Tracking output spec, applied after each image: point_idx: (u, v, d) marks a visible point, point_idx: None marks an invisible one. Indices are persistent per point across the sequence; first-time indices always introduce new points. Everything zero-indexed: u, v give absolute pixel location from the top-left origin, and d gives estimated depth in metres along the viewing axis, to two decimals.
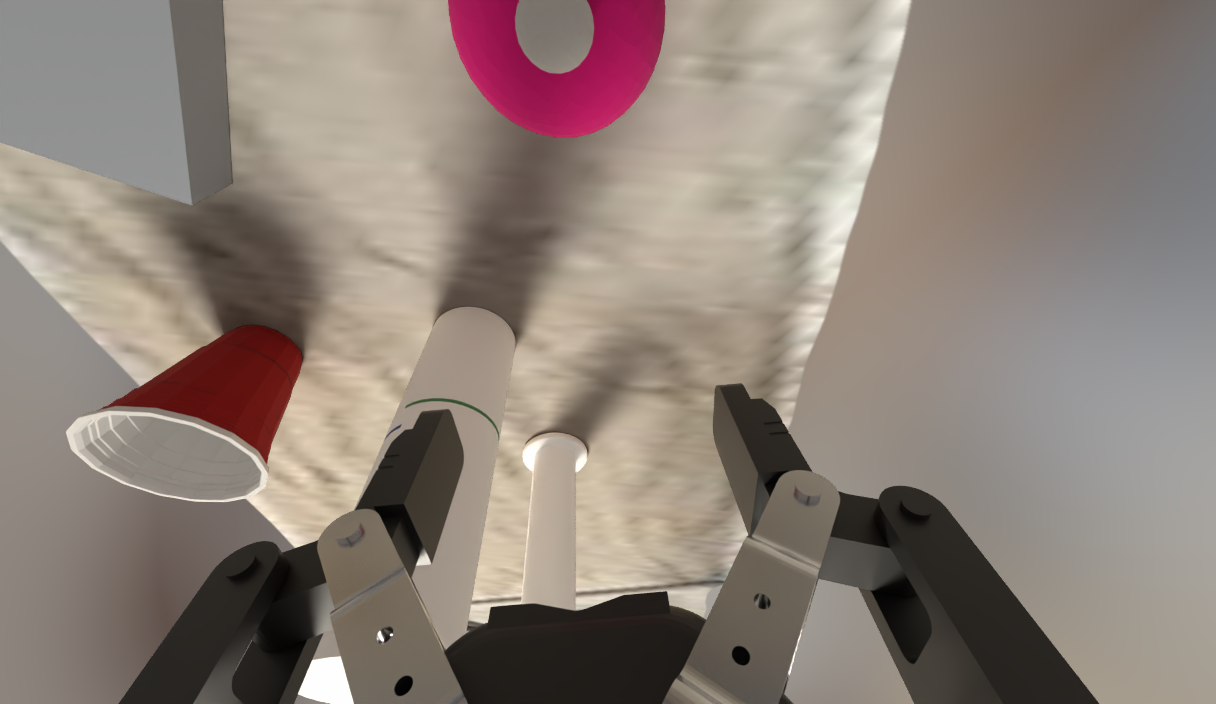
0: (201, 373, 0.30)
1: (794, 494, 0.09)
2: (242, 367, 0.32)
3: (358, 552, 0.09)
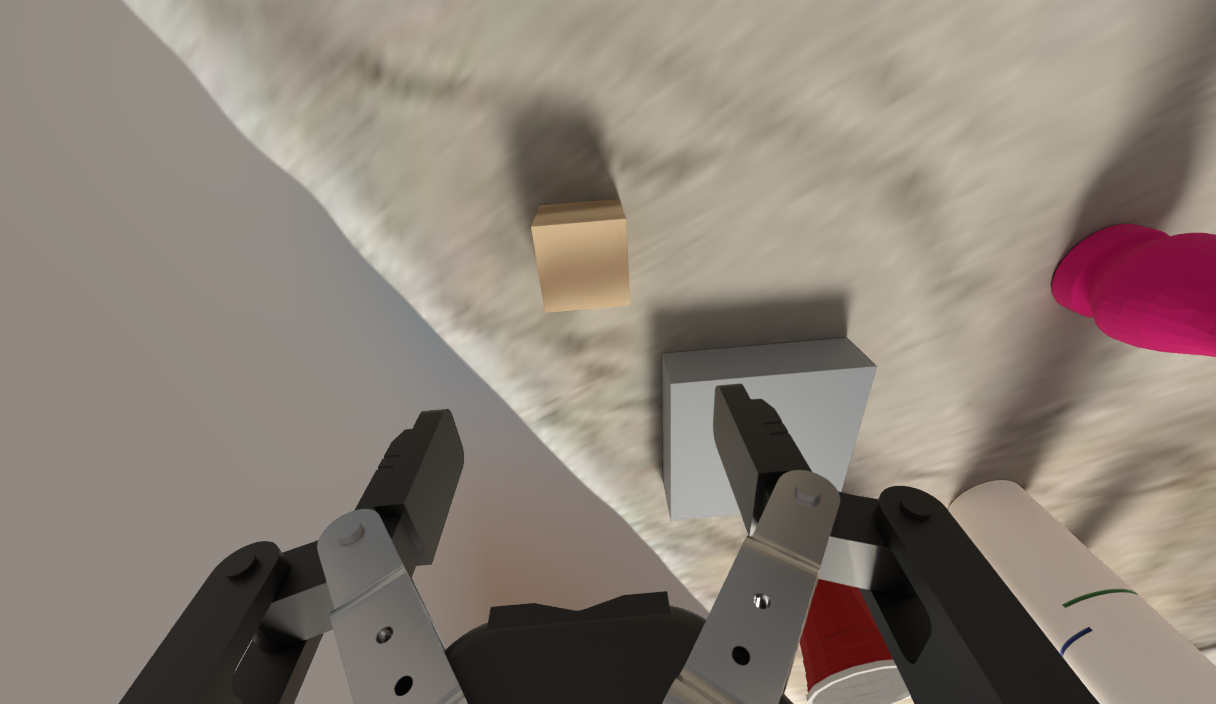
0: (848, 615, 0.40)
1: (794, 494, 0.09)
2: (855, 597, 0.42)
3: (358, 552, 0.09)
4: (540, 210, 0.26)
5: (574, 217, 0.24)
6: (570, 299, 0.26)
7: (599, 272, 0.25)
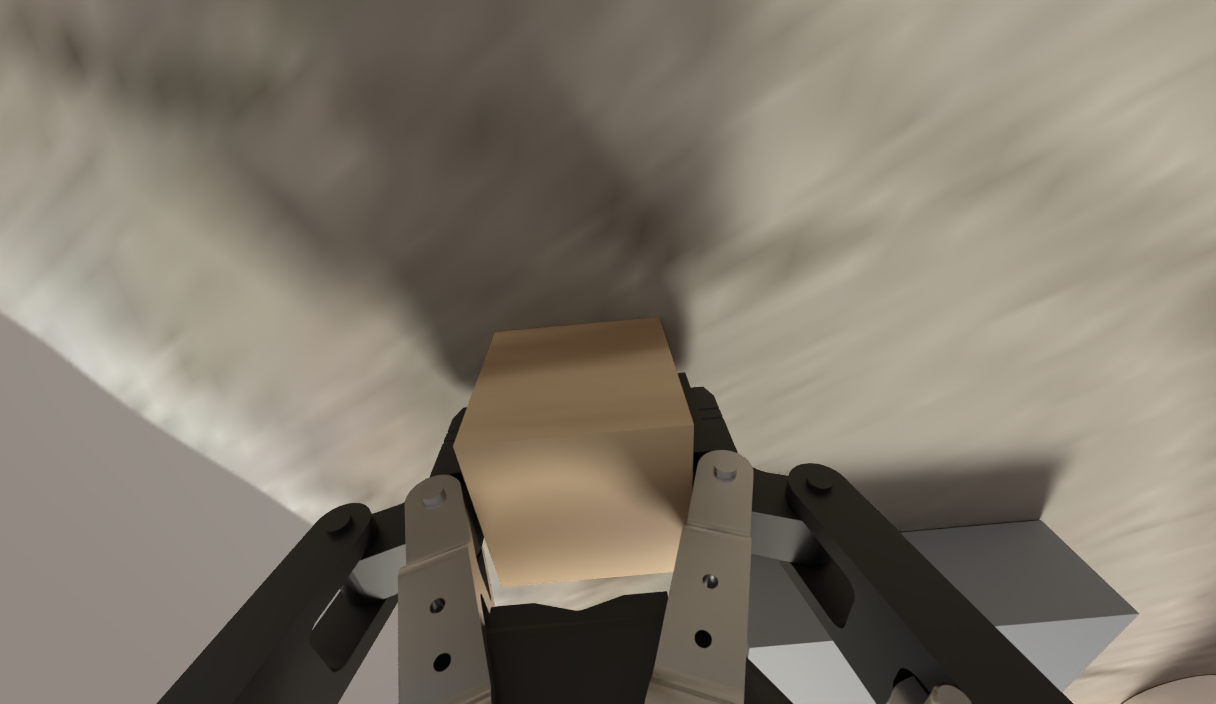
0: None
1: (712, 471, 0.10)
2: None
3: (436, 516, 0.09)
4: (492, 356, 0.12)
5: (564, 401, 0.10)
6: (557, 566, 0.11)
7: (623, 522, 0.11)
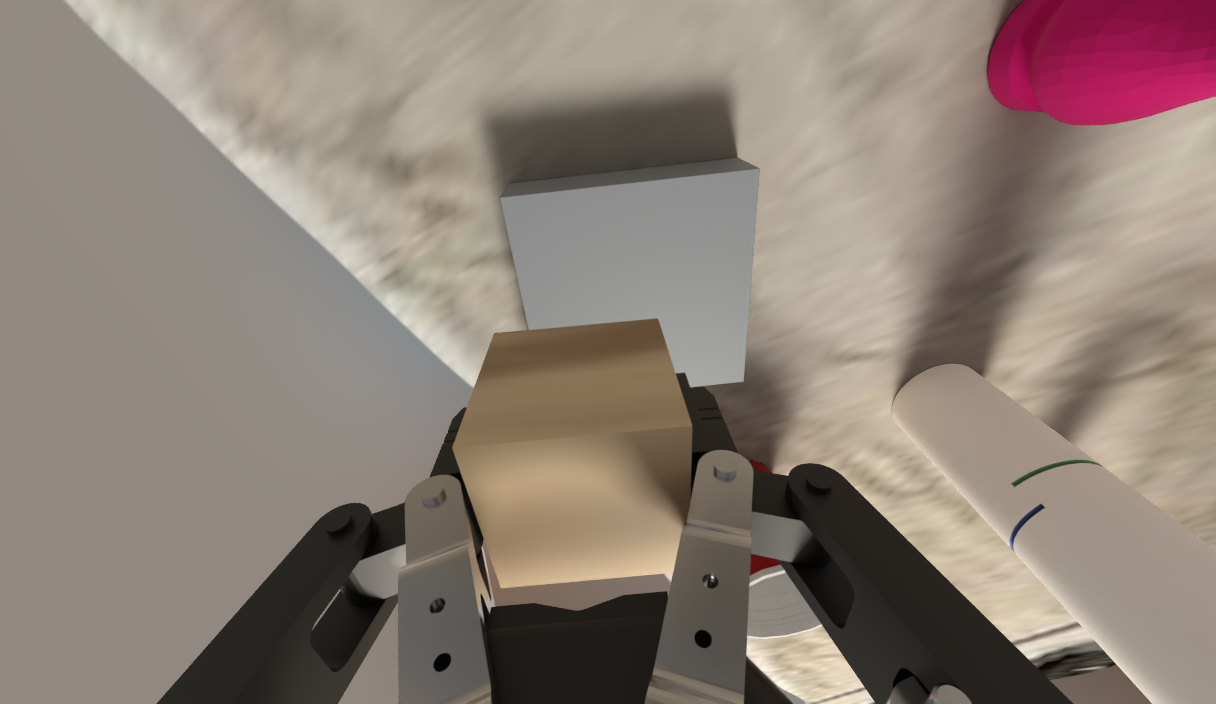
0: None
1: (711, 471, 0.10)
2: None
3: (436, 516, 0.09)
4: (491, 357, 0.12)
5: (563, 402, 0.10)
6: (556, 567, 0.11)
7: (622, 523, 0.11)
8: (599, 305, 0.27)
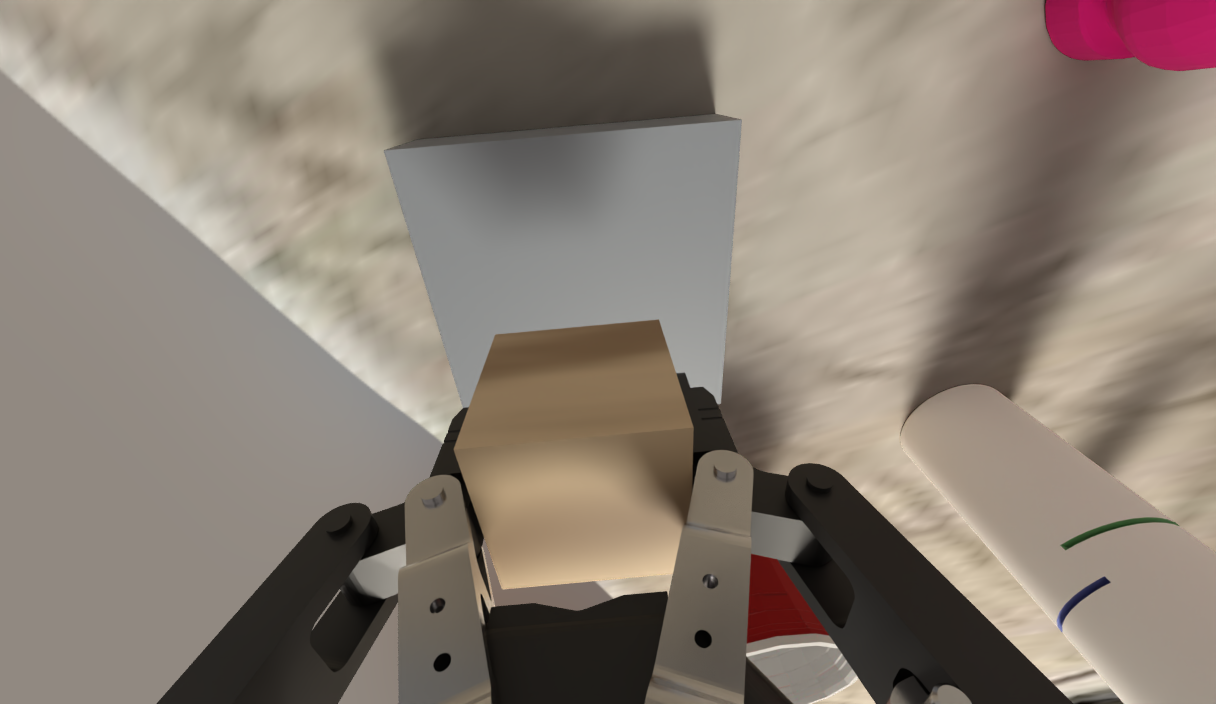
0: None
1: (711, 471, 0.10)
2: None
3: (436, 516, 0.09)
4: (492, 358, 0.12)
5: (564, 404, 0.10)
6: (557, 568, 0.11)
7: (623, 525, 0.11)
8: (531, 303, 0.21)
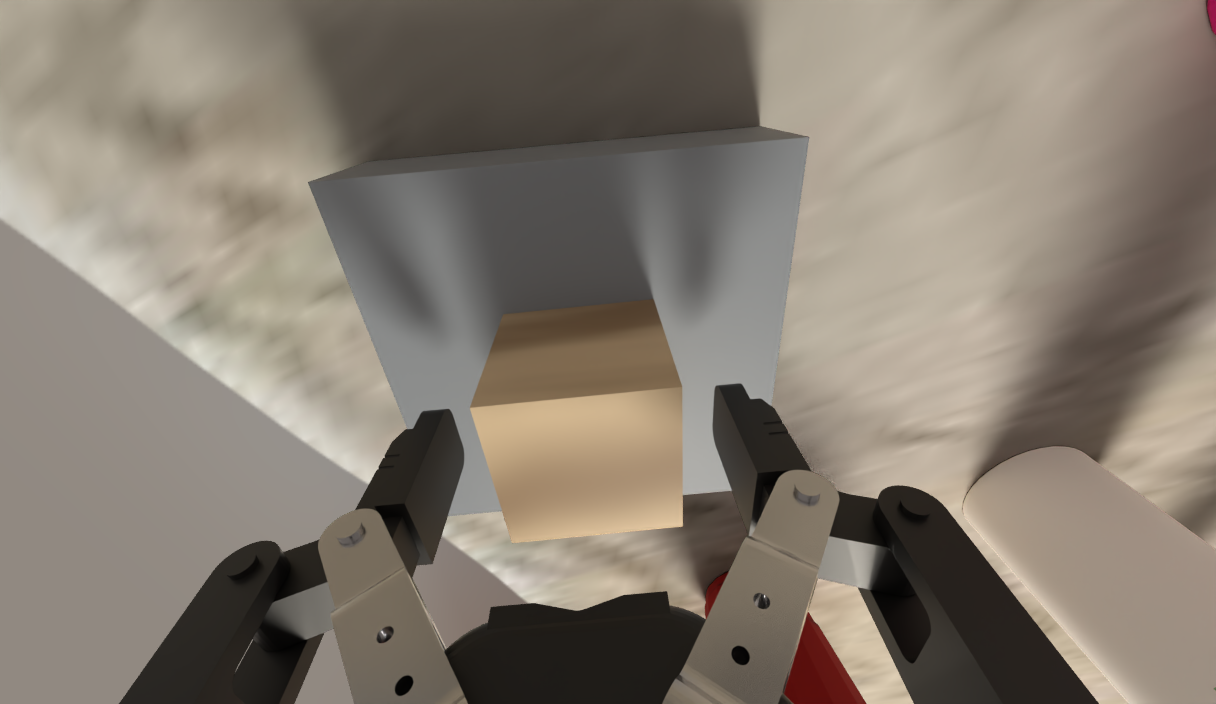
0: (790, 686, 0.22)
1: (793, 494, 0.09)
2: (807, 651, 0.24)
3: (359, 551, 0.09)
4: (501, 334, 0.13)
5: (567, 370, 0.11)
6: (562, 522, 0.13)
7: (622, 480, 0.12)
8: None
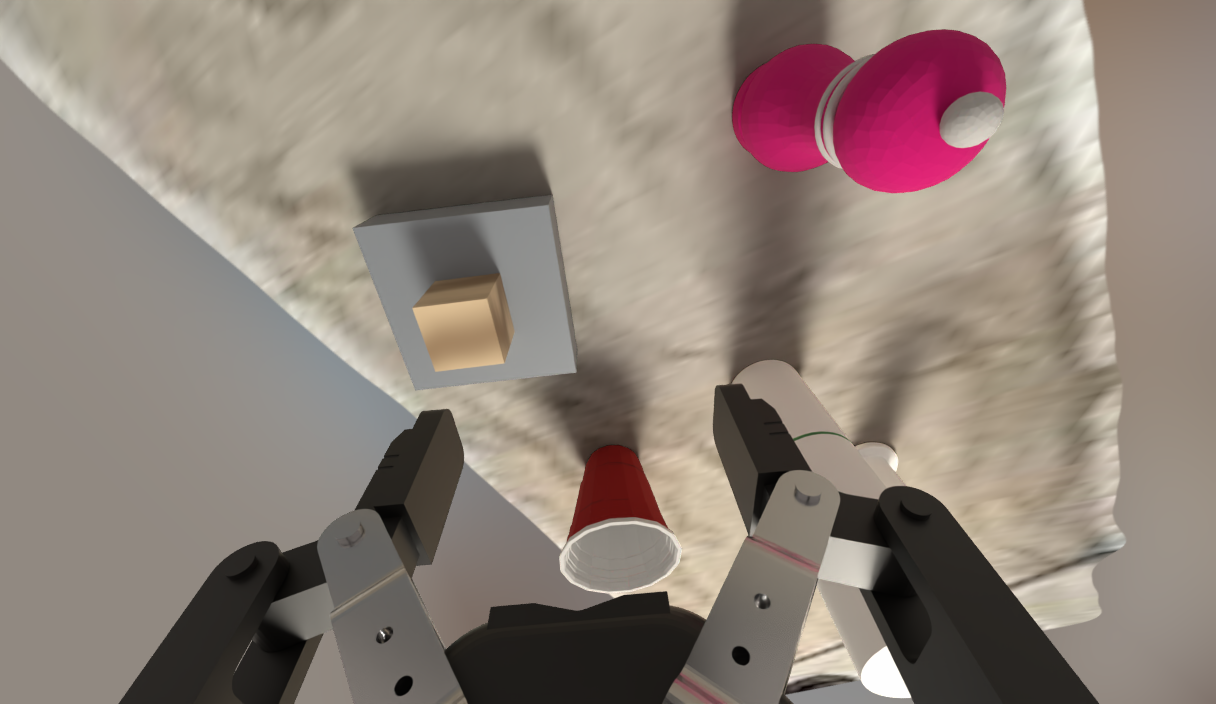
0: (608, 488, 0.41)
1: (794, 494, 0.09)
2: (624, 476, 0.42)
3: (358, 552, 0.09)
4: (431, 287, 0.32)
5: (450, 296, 0.30)
6: (454, 360, 0.31)
7: (474, 339, 0.31)
8: None
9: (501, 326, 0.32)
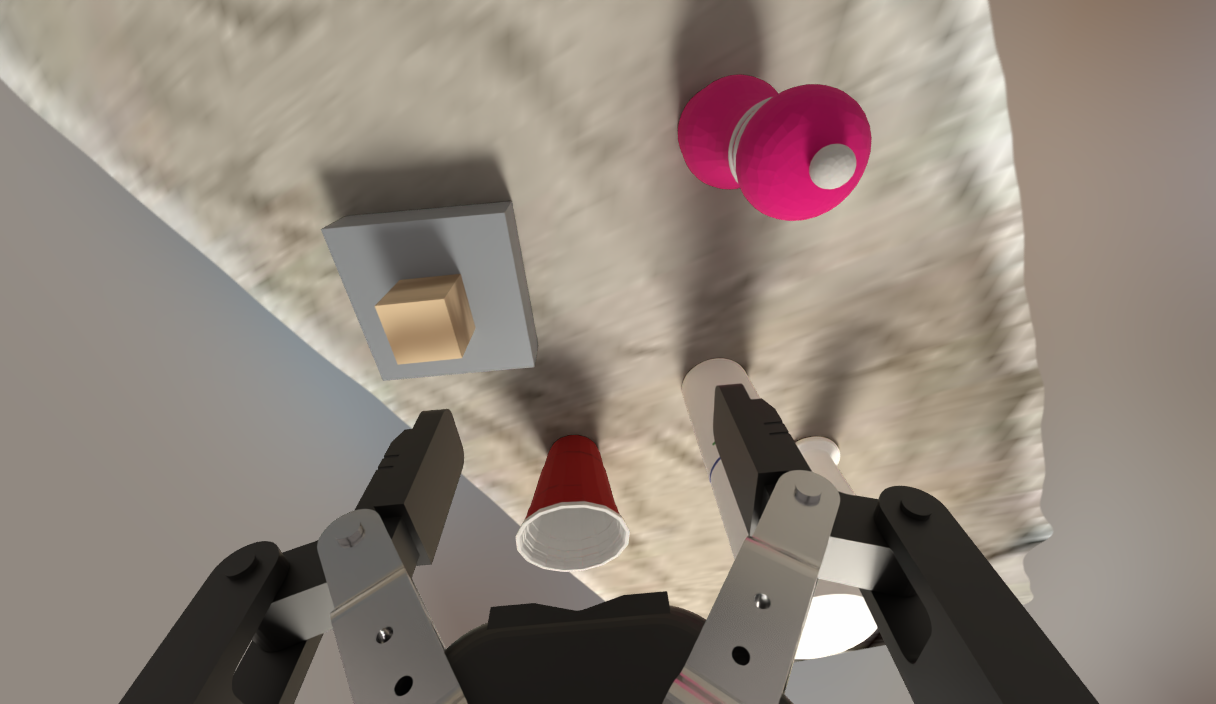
0: (564, 475, 0.44)
1: (794, 494, 0.09)
2: (580, 464, 0.45)
3: (358, 552, 0.09)
4: (395, 286, 0.35)
5: (411, 296, 0.33)
6: (415, 355, 0.34)
7: (433, 336, 0.33)
8: None
9: (459, 323, 0.35)
